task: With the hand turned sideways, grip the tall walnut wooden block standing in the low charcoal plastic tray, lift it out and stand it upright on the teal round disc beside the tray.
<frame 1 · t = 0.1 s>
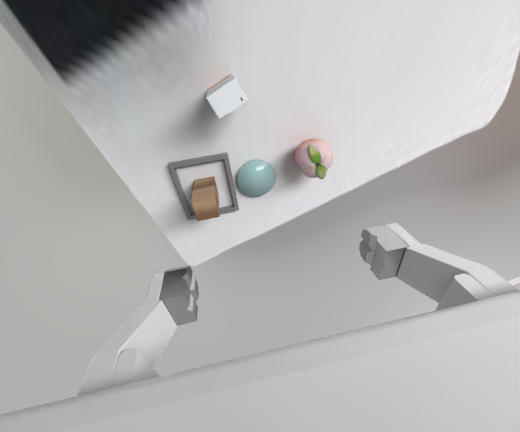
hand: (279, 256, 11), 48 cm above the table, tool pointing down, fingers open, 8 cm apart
teal round disc: (255, 178, 61), on the table
walnut block: (206, 197, 56), in the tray
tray: (206, 187, 60), on the table
decorative fruit: (306, 150, 60), on the table
skincare box: (224, 91, 49), on the table
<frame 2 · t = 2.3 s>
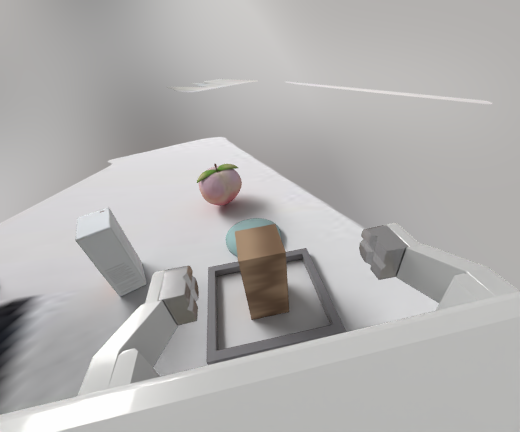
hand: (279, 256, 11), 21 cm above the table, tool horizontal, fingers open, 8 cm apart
teal round disc: (253, 238, 43), on the table
walnut block: (263, 273, 29), in the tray
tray: (266, 299, 33), on the table
decorative fruit: (223, 204, 54), on the table
skincare box: (132, 279, 38), on the table
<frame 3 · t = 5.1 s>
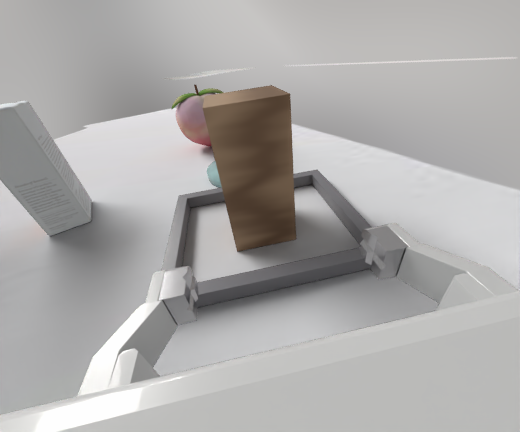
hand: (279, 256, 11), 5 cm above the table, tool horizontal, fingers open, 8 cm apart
teal round disc: (244, 171, 32), on the table
walnut block: (253, 172, 18), in the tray
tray: (261, 227, 21), on the table
decorative fruit: (209, 147, 43), on the table
skincare box: (73, 218, 27), on the table
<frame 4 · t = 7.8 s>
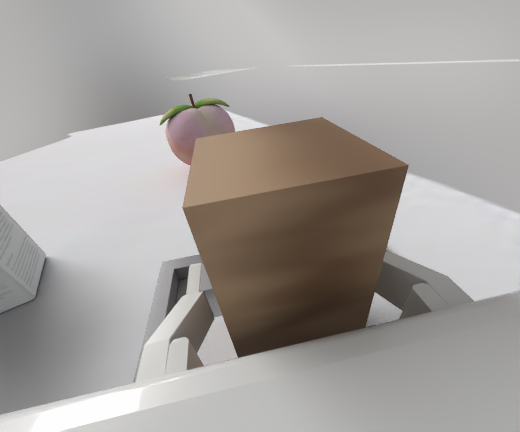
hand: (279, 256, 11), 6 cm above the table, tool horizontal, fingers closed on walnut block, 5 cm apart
walnut block: (284, 271, 10), in the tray, touching gripper
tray: (289, 335, 13), on the table
decorative fruit: (208, 169, 35), on the table
skincare box: (14, 289, 19), on the table
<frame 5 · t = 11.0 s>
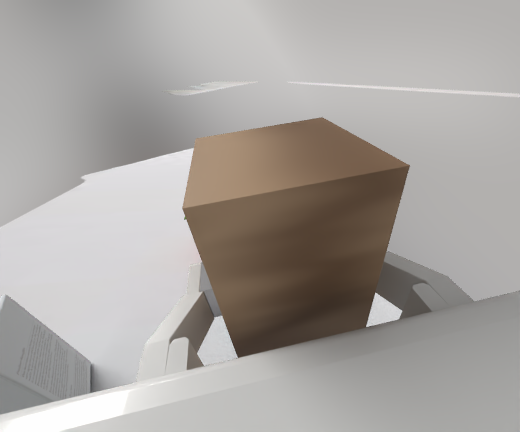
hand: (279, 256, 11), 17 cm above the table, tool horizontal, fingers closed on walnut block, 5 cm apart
walnut block: (284, 271, 10), point 17 cm above the table, touching gripper
skincare box: (68, 405, 22), on the table
when the fingers open (8 cm above the table, at t = 14.3 s): walnut block drops 1 cm, resting on teal round disc.
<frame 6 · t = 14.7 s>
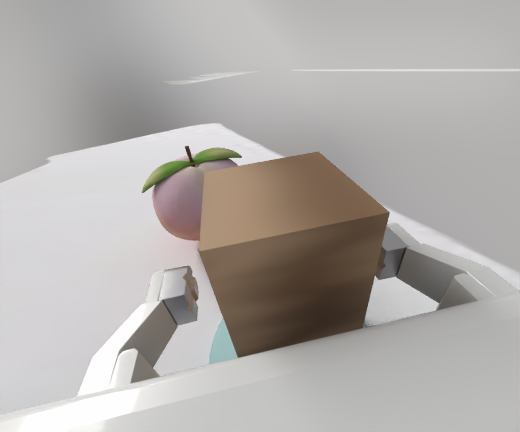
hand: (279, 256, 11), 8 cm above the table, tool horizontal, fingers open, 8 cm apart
teal round disc: (291, 355, 15), on the table
walnut block: (284, 290, 11), on the teal round disc, point 6 cm above the table
decorative fruit: (212, 235, 26), on the table
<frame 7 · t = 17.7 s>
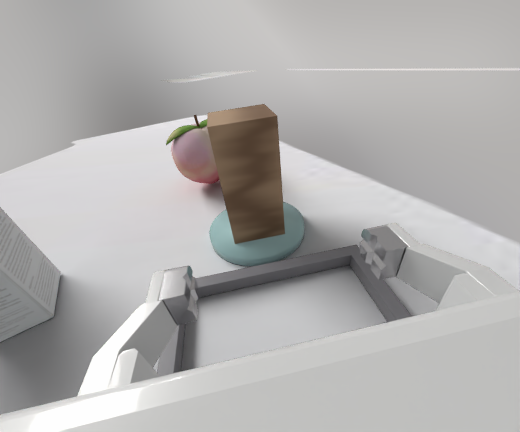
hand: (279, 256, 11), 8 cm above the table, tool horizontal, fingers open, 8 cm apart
teal round disc: (257, 231, 25), on the table
walnut block: (248, 177, 22), on the teal round disc, point 6 cm above the table
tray: (290, 356, 15), on the table
decorative fruit: (211, 183, 36), on the table
skincare box: (32, 306, 21), on the table
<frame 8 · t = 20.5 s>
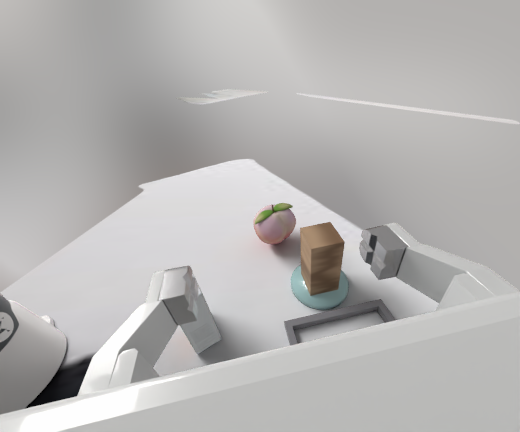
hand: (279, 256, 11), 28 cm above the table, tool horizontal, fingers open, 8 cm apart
teal round disc: (318, 284, 43), on the table
walnut block: (320, 259, 39), on the teal round disc, point 6 cm above the table
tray: (354, 360, 32), on the table
decorative fruit: (275, 241, 54), on the table
skincare box: (203, 332, 38), on the table
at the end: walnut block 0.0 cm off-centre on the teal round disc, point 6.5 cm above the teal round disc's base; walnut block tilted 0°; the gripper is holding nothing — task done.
